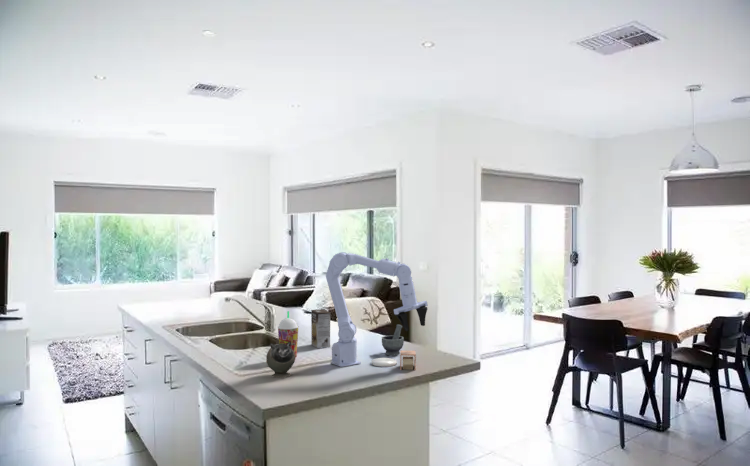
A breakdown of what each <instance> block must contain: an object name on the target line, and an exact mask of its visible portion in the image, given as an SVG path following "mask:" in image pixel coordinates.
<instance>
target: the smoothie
mask: <svg viewBox="0 0 750 466" xmlns="http://www.w3.org/2000/svg"><path fill="white" fill-rule="evenodd" d="M286 313H287V314H286V315H287V317H285V318H284V319H282V320H281V321H280V322H279V324H278V326H277V331H278V337H277V338H278V344H287V343H288V342H291V346H290V347H291V348H292V349H293V351H294V354H295V359H296V358H297V356H298V355H297V354H298V343H299V342H298V337H299V327H300V326H299V325H298V323H297V321H296V320H295V319H294V318H291V317H290V311H287V312H286Z"/></svg>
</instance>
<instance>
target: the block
mask: <svg viewBox="0 0 750 466" xmlns="http://www.w3.org/2000/svg"><path fill="white" fill-rule="evenodd" d="M402 370H414V356H403V355H402Z"/></svg>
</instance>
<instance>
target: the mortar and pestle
mask: <svg viewBox="0 0 750 466" xmlns="http://www.w3.org/2000/svg"><path fill="white" fill-rule="evenodd" d="M395 327H396V328H395V330H394V333H393V335H385V336H381V345H382V348H383V349H384V350H385V355H387V356H400V350H401V349H403V346H404V344H405V339H404V338H405V337H404V336H401V332H402V329H403V325H402V324H396V326H395Z"/></svg>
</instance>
